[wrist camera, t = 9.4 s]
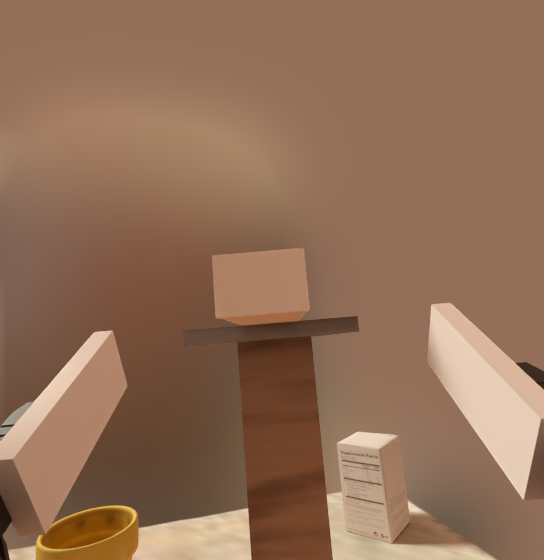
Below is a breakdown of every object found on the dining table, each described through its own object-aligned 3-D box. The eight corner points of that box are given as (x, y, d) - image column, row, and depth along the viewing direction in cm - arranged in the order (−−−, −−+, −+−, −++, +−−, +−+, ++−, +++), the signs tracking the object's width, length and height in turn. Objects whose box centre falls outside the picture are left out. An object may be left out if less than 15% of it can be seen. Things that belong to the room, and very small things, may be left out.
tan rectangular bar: (309, 309, 19) (303, 247, 19) (215, 317, 19) (212, 255, 19) (291, 329, 52) (289, 306, 53) (258, 332, 52) (256, 309, 53)
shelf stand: (409, 760, 26) (357, 316, 30) (203, 774, 26) (183, 330, 31) (348, 558, 49) (324, 326, 54) (240, 566, 50) (226, 334, 54)
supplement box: (366, 511, 62) (357, 430, 64) (411, 522, 57) (400, 434, 59) (344, 531, 56) (334, 441, 58) (392, 545, 52) (380, 447, 54)
